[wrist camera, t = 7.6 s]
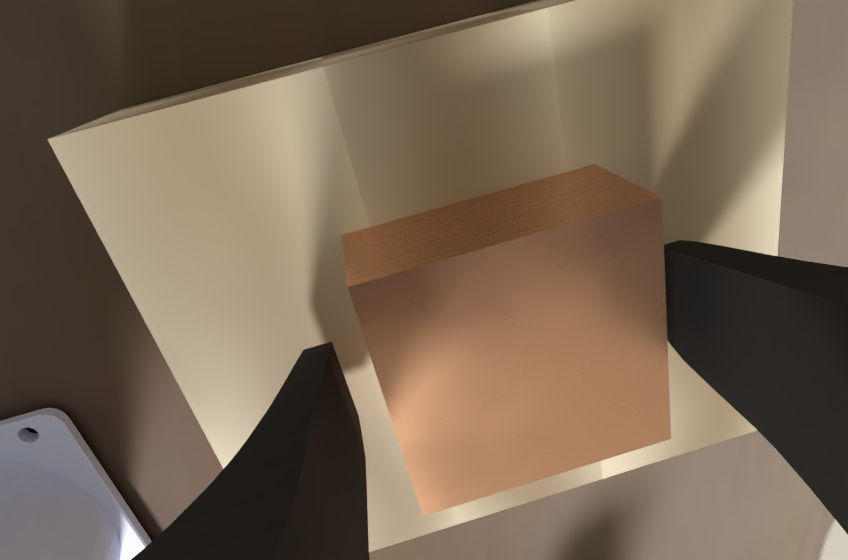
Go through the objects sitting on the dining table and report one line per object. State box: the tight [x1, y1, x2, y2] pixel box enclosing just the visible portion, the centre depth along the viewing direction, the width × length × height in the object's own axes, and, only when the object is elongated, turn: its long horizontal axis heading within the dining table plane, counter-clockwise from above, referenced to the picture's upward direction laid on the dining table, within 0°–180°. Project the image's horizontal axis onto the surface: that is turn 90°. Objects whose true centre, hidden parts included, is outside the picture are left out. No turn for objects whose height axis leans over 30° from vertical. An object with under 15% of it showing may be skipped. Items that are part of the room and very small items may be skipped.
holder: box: [48, 0, 793, 552], centre depth 14 cm, size 14×12×4 cm
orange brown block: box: [342, 164, 671, 516], centre depth 13 cm, size 5×5×6 cm
